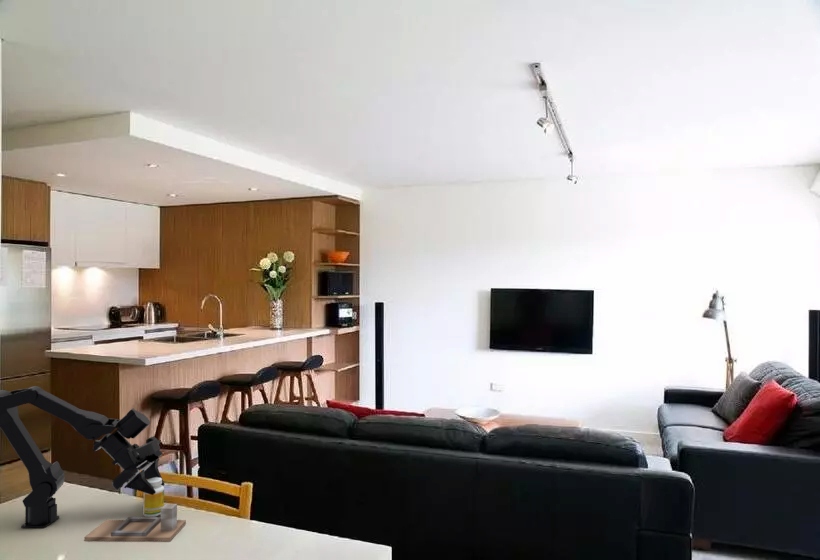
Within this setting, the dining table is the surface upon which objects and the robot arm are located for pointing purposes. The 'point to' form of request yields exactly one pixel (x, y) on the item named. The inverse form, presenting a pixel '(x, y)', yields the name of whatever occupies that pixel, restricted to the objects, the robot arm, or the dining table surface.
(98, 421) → the robot arm
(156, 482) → the supplement bottle
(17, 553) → the dining table surface
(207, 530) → the dining table surface
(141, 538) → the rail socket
